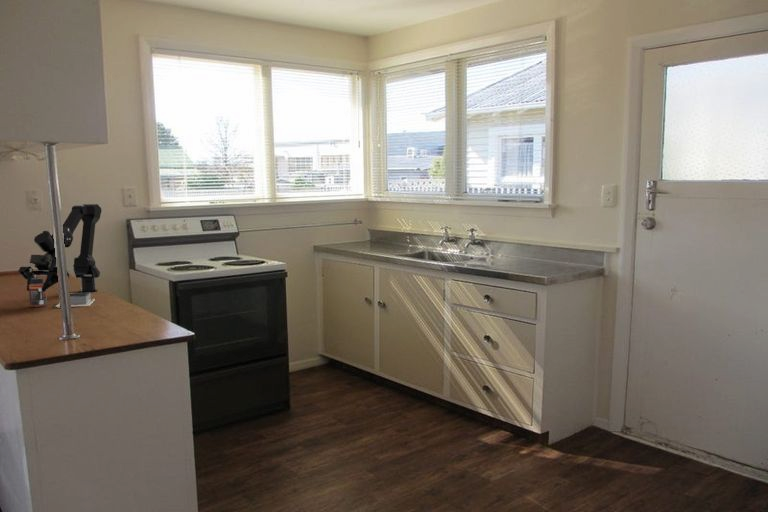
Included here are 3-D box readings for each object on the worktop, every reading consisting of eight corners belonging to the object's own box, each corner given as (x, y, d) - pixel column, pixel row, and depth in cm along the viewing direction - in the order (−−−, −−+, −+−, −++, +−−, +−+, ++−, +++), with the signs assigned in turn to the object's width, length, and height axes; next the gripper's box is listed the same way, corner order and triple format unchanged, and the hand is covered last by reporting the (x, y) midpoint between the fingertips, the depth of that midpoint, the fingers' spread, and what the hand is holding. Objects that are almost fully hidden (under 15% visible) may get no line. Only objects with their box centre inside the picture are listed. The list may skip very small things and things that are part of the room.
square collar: (62, 301, 253) (62, 293, 252) (94, 300, 256) (94, 291, 255) (55, 307, 241) (55, 298, 241) (89, 305, 244) (88, 296, 244)
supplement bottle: (46, 306, 242) (44, 278, 241) (29, 308, 240) (27, 279, 238) (47, 304, 248) (45, 276, 246) (30, 305, 245) (28, 277, 244)
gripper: (19, 246, 246) (1, 278, 236) (62, 246, 244) (46, 278, 234) (34, 263, 255) (17, 294, 245) (76, 263, 252) (61, 295, 243)
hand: (35, 290), depth 242 cm, fingers closed on supplement bottle, 6 cm apart
